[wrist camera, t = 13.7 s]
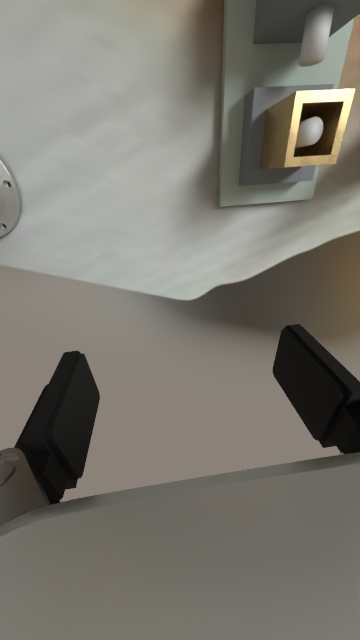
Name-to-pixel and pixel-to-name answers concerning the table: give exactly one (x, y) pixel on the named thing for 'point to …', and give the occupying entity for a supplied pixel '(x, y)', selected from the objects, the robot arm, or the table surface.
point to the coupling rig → (275, 88)
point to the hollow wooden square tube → (286, 123)
